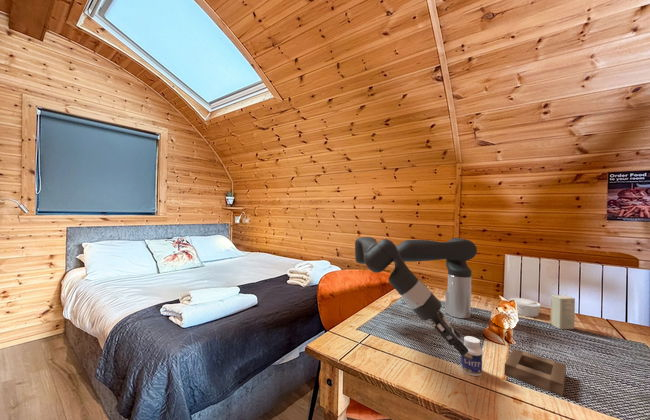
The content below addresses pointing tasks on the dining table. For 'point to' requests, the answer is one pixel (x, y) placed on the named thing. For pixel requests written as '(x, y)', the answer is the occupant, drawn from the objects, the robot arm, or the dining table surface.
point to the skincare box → (562, 311)
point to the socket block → (535, 377)
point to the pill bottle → (472, 357)
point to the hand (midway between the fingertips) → (461, 345)
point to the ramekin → (527, 307)
